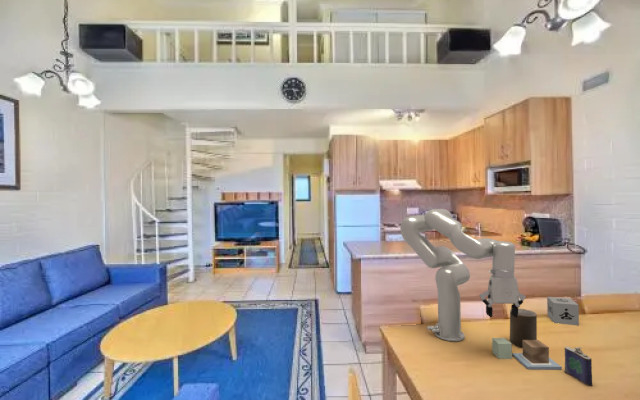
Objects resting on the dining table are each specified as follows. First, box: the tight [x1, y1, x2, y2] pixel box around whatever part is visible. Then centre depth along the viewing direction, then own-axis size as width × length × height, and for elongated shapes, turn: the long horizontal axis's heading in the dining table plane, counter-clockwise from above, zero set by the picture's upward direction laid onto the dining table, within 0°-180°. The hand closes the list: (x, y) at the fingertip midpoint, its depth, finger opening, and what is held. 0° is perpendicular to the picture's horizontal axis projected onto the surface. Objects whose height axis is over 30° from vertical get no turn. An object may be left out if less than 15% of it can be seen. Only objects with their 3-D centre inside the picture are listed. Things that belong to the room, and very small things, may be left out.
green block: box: [491, 337, 513, 360], centre depth 126 cm, size 5×5×6 cm
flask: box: [564, 346, 593, 387], centre depth 110 cm, size 9×3×11 cm, turn 8°
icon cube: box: [546, 296, 580, 326], centre depth 159 cm, size 10×10×10 cm
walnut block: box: [522, 339, 550, 363], centre depth 121 cm, size 6×6×6 cm
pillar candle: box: [509, 308, 538, 349], centre depth 135 cm, size 10×10×15 cm
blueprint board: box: [512, 352, 563, 371], centre depth 121 cm, size 12×10×1 cm
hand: (501, 315), depth 126 cm, fingers open, 9 cm apart
